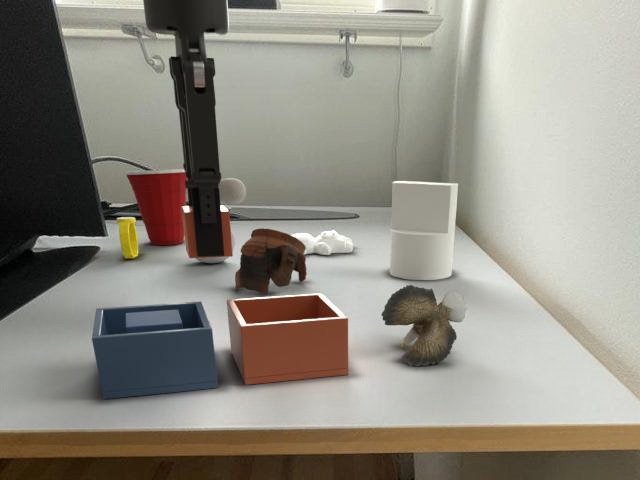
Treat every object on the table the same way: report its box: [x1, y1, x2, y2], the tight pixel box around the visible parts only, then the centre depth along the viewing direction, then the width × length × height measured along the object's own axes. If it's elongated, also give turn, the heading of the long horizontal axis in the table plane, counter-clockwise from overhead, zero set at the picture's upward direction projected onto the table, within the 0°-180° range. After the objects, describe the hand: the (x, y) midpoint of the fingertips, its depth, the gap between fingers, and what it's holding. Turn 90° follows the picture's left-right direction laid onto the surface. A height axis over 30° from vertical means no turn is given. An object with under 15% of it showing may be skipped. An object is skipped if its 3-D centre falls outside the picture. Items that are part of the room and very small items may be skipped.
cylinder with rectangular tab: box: [389, 180, 459, 281], centre depth 93 cm, size 9×9×12 cm
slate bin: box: [91, 301, 219, 400], centre depth 57 cm, size 9×9×5 cm
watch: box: [116, 216, 139, 259], centre depth 103 cm, size 6×3×6 cm, turn 6°
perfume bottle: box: [194, 177, 247, 264], centre depth 99 cm, size 8×10×12 cm
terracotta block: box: [181, 205, 233, 259], centre depth 70 cm, size 4×4×4 cm
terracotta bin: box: [226, 292, 349, 386], centre depth 60 cm, size 9×9×5 cm
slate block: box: [125, 310, 183, 333], centre depth 57 cm, size 4×4×4 cm
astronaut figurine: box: [290, 229, 354, 256], centre depth 110 cm, size 9×12×3 cm
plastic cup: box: [123, 168, 187, 246], centre depth 114 cm, size 11×11×12 cm
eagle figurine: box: [381, 284, 468, 367], centre depth 64 cm, size 8×7×9 cm
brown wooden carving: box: [234, 227, 308, 295], centre depth 86 cm, size 12×10×8 cm
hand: (208, 250), depth 71 cm, fingers closed on terracotta block, 4 cm apart
